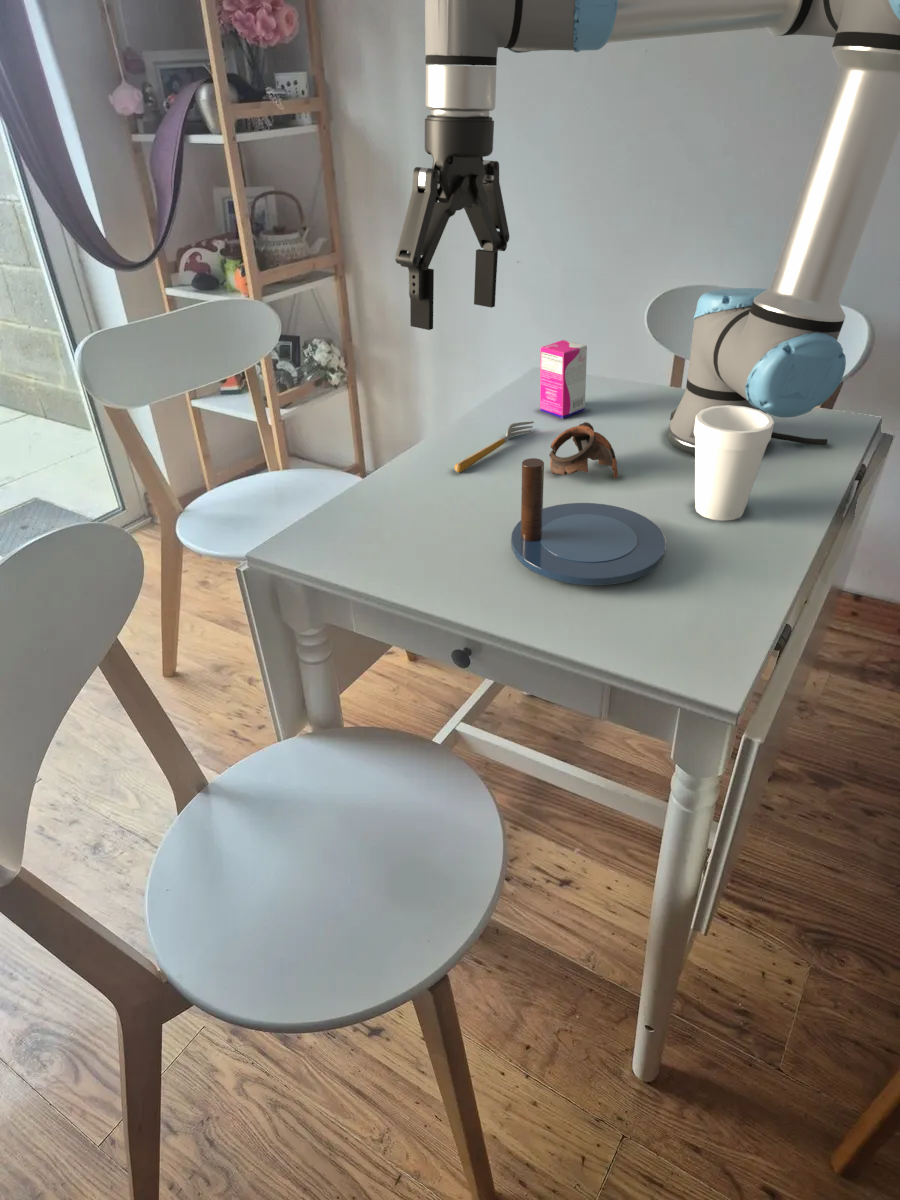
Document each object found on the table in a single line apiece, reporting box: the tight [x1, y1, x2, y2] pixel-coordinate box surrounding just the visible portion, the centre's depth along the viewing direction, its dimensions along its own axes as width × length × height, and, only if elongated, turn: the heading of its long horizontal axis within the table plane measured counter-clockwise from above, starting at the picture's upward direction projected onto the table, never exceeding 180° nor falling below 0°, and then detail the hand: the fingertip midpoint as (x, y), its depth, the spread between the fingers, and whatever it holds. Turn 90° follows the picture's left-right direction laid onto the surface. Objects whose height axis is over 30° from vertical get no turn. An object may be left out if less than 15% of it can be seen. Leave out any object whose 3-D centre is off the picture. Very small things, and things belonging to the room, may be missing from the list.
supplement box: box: [539, 339, 588, 420], centre depth 140 cm, size 6×6×12 cm
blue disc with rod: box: [510, 457, 667, 586], centre depth 99 cm, size 19×19×11 cm
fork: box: [454, 421, 535, 473], centre depth 129 cm, size 2×2×20 cm
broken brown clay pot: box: [548, 421, 619, 479], centre depth 121 cm, size 12×10×8 cm
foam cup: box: [694, 405, 775, 522], centre depth 107 cm, size 10×9×13 cm
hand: (454, 316), depth 99 cm, fingers open, 13 cm apart
